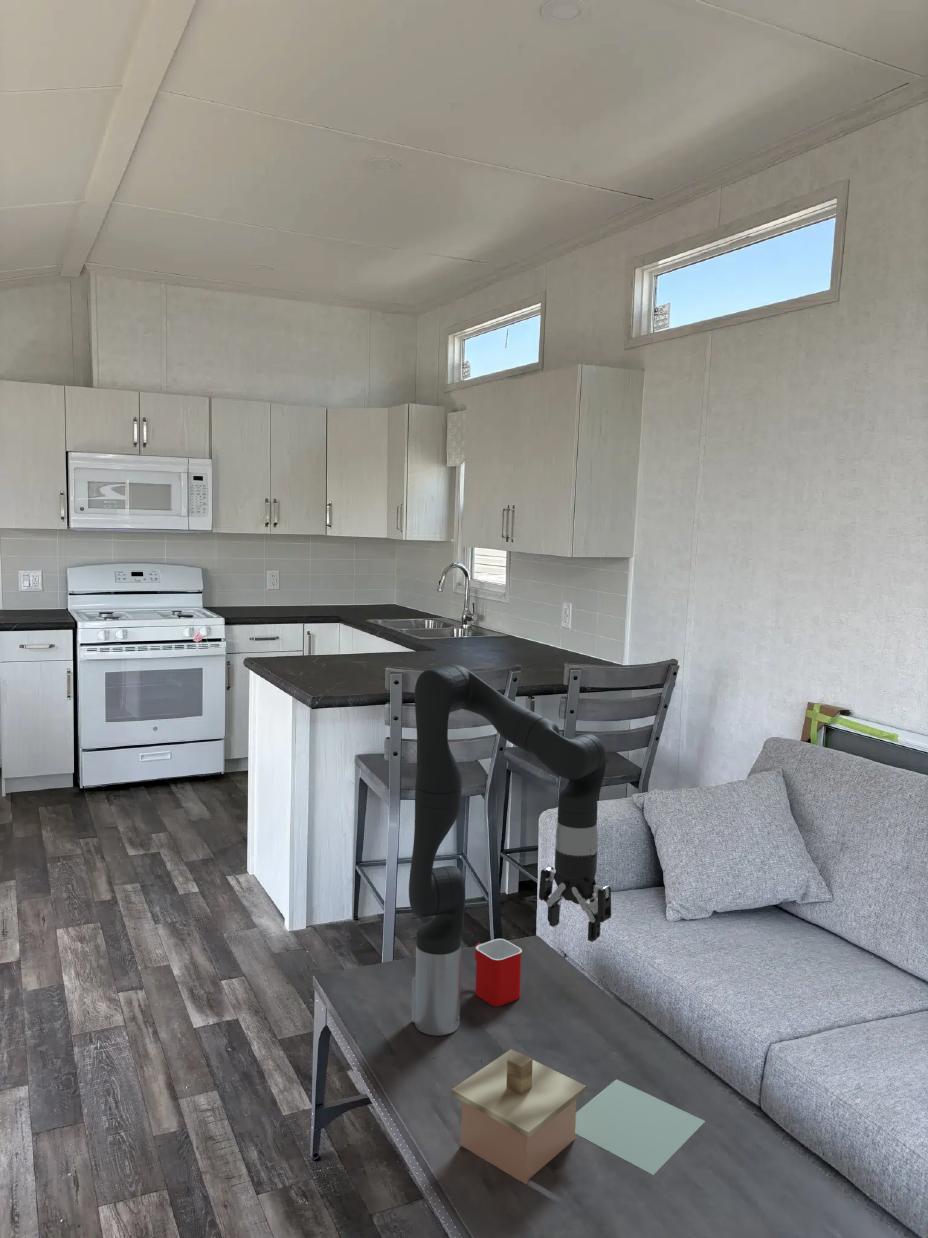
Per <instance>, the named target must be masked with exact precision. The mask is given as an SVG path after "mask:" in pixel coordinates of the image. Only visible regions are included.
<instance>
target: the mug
mask: <svg viewBox="0 0 928 1238" xmlns="http://www.w3.org/2000/svg"><path fill="white" fill-rule="evenodd" d="M474 946H475V947H474V958H475V964H476V965H475V970H476V971H475V995H476V996H477V997H478V998H480V999H481V1000H483V1001H484V1002H486V1003H488V1004H489V1005H490V1006H493V1007H501V1006H504V1005H506V1004H509V1003H512V1002H514V1001H516V1000H518V999H520V997H521V975H522V974H521V971H522V969H521V968H522V954H523V949H522V948H521V947H520V946H517V945H515V944H514V943H512V942H510V940H509V941H508V940H507V939H505V938H496V939H491V940H489V941H486V942H484V943H479V942H478V943H476V944H475V945H474Z"/></svg>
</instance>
